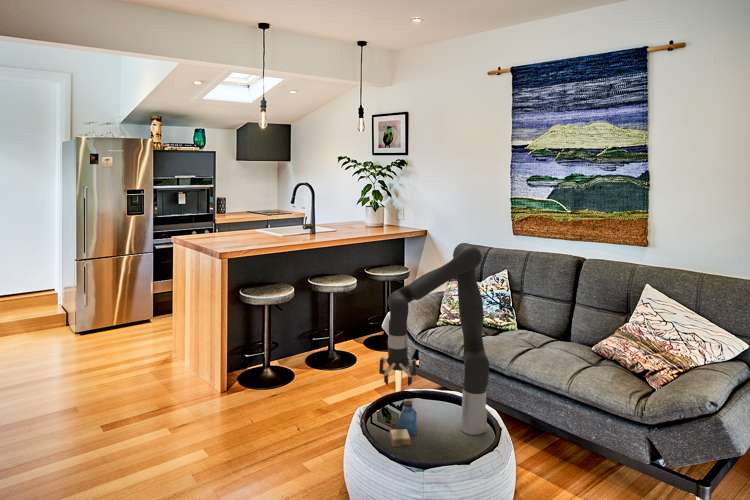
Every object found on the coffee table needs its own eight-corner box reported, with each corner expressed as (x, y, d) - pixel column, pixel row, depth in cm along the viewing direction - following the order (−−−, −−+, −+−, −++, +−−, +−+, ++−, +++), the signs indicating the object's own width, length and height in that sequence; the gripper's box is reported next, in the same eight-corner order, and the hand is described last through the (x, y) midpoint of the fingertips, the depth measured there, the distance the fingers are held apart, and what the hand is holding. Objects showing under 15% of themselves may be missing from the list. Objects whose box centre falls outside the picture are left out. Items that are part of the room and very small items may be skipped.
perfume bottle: (414, 435, 213) (415, 406, 210) (398, 433, 214) (399, 405, 212) (416, 427, 219) (417, 399, 216) (400, 425, 220) (401, 398, 218)
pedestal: (407, 435, 212) (407, 428, 212) (410, 445, 205) (411, 437, 205) (389, 436, 211) (389, 429, 211) (392, 446, 204) (392, 439, 204)
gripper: (417, 342, 210) (417, 381, 213) (380, 340, 212) (381, 379, 215) (415, 349, 203) (415, 389, 206) (377, 347, 205) (378, 387, 208)
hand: (398, 384), depth 210 cm, fingers open, 8 cm apart
